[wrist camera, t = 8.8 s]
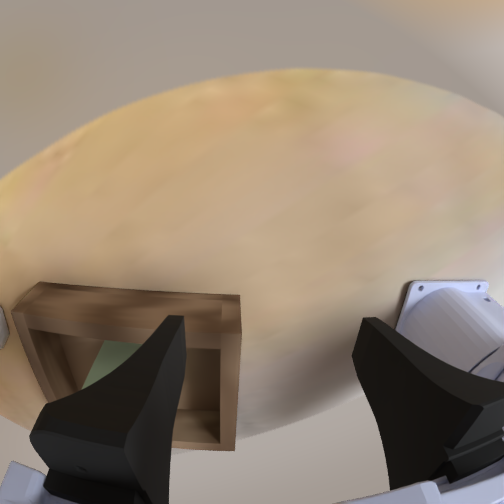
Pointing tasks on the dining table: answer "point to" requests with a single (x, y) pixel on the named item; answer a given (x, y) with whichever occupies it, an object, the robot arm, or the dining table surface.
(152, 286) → the dining table surface
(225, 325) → the walnut crate
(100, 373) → the green block
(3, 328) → the flask
